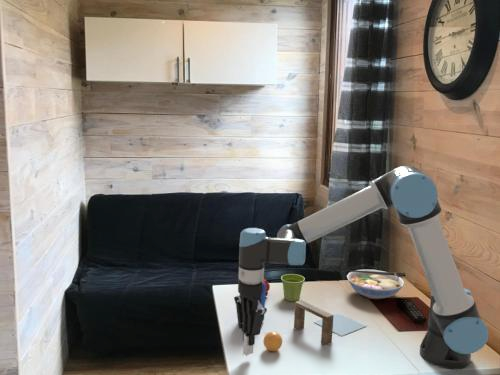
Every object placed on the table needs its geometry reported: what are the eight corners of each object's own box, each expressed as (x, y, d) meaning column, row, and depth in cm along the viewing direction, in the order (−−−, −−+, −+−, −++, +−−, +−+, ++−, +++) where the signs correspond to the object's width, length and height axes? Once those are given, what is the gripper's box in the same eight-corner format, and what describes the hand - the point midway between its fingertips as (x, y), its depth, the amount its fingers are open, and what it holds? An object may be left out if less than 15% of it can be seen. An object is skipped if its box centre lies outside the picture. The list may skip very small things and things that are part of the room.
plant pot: (302, 304, 203) (303, 283, 201) (278, 302, 205) (279, 280, 203) (304, 295, 212) (305, 275, 210) (281, 293, 214) (282, 272, 212)
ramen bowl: (342, 303, 205) (344, 283, 203) (343, 283, 227) (344, 265, 226) (408, 310, 201) (410, 290, 199) (402, 288, 223) (404, 270, 221)
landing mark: (366, 326, 185) (366, 326, 185) (341, 336, 177) (341, 335, 177) (338, 313, 195) (338, 313, 195) (313, 322, 187) (313, 322, 187)
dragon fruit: (255, 306, 204) (257, 298, 216) (273, 294, 203) (274, 287, 215) (243, 287, 204) (245, 281, 216) (261, 276, 203) (263, 270, 215)
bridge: (299, 325, 184) (301, 299, 183) (331, 342, 173) (333, 315, 171) (293, 328, 182) (295, 301, 181) (325, 345, 171) (327, 317, 169)
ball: (285, 351, 166) (286, 333, 165) (271, 356, 162) (272, 338, 161) (273, 343, 171) (274, 326, 170) (259, 349, 167) (259, 331, 166)
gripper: (227, 276, 158) (225, 348, 163) (255, 289, 148) (252, 366, 153) (247, 271, 163) (244, 341, 167) (274, 284, 153) (271, 358, 157)
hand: (248, 353), depth 160 cm, fingers closed
